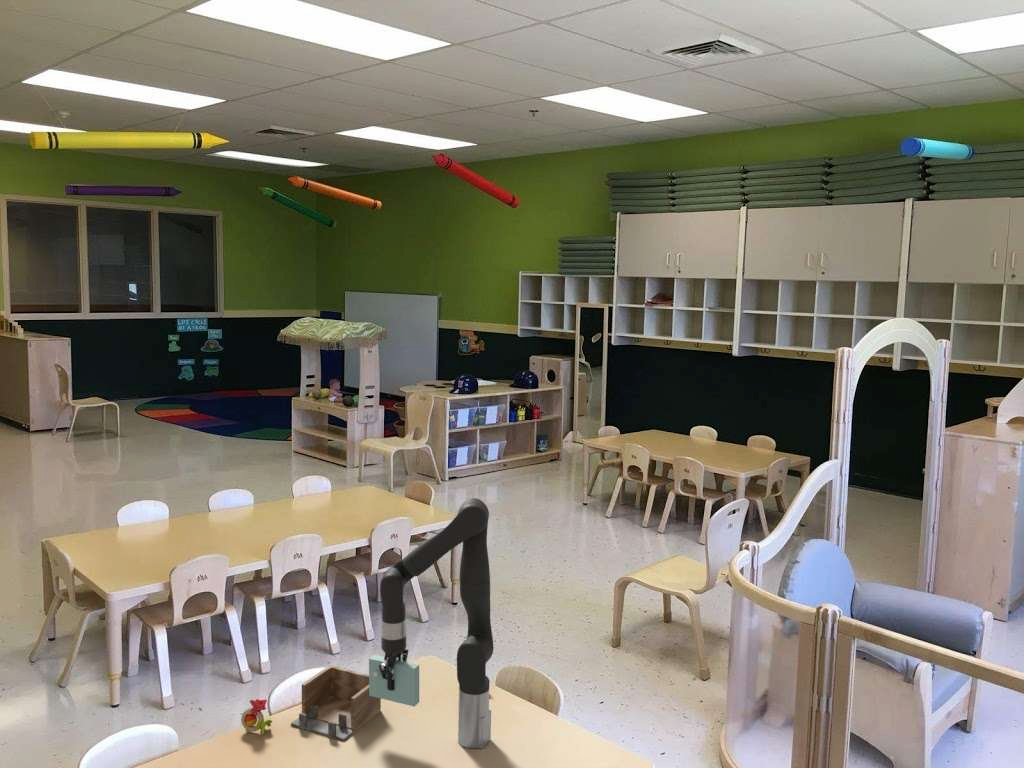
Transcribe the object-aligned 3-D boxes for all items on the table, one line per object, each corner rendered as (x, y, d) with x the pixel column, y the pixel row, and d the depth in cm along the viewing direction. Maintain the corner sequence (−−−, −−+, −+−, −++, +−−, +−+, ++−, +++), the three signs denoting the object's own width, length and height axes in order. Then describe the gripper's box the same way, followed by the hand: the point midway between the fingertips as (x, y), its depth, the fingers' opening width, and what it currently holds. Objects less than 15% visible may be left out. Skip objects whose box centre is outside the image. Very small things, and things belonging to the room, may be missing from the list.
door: (419, 702, 261) (419, 664, 260) (412, 708, 257) (412, 670, 256) (374, 691, 268) (374, 654, 266) (367, 697, 264) (366, 660, 262)
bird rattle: (244, 744, 262) (271, 734, 261) (230, 711, 261) (256, 702, 260) (252, 733, 269) (278, 723, 268) (238, 701, 268) (264, 692, 267)
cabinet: (380, 710, 280) (380, 678, 279) (343, 741, 261) (343, 706, 260) (329, 696, 288) (329, 665, 287) (290, 725, 270) (290, 692, 268)
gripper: (392, 644, 253) (392, 700, 255) (416, 627, 265) (416, 680, 267) (370, 640, 256) (371, 695, 258) (395, 623, 268) (395, 675, 270)
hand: (394, 687), depth 263 cm, fingers closed on door, 3 cm apart
